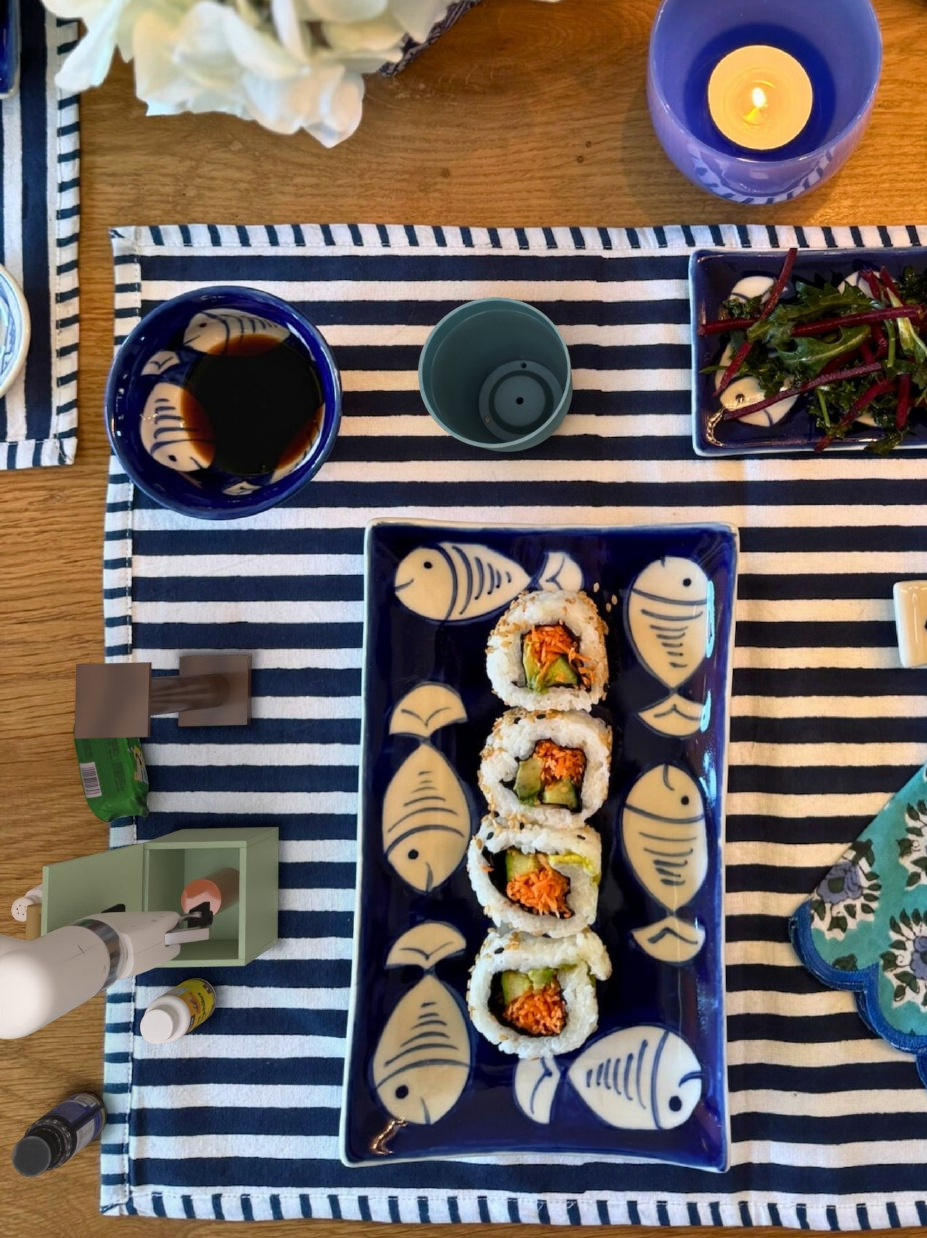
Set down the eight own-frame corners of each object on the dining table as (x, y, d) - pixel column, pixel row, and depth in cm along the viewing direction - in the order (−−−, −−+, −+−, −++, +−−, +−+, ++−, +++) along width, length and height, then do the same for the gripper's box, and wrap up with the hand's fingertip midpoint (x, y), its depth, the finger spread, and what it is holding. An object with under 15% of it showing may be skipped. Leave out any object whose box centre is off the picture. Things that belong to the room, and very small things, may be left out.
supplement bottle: (217, 1022, 138) (178, 1052, 128) (174, 1021, 138) (131, 1051, 128) (219, 976, 139) (180, 1003, 128) (176, 975, 139) (134, 1002, 129)
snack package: (109, 826, 141) (86, 833, 135) (84, 708, 142) (60, 711, 137) (163, 812, 141) (142, 818, 136) (137, 694, 142) (116, 696, 137)
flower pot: (430, 439, 144) (393, 413, 127) (484, 316, 146) (454, 274, 129) (555, 490, 143) (534, 470, 127) (608, 366, 145) (594, 330, 128)
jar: (206, 907, 139) (180, 921, 132) (207, 867, 139) (180, 879, 132) (245, 906, 139) (221, 920, 132) (246, 866, 139) (221, 878, 132)
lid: (48, 866, 117) (11, 864, 119) (44, 1006, 116) (7, 1003, 117) (143, 843, 130) (108, 842, 132) (140, 969, 129) (105, 966, 130)
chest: (278, 826, 140) (246, 840, 130) (277, 943, 139) (244, 965, 129) (182, 829, 140) (142, 842, 131) (180, 945, 139) (139, 968, 129)
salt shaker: (101, 872, 140) (49, 892, 129) (90, 914, 140) (37, 937, 129) (60, 863, 140) (5, 882, 129) (50, 905, 140) (-7, 928, 129)
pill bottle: (52, 1108, 138) (-5, 1149, 127) (92, 1080, 138) (38, 1118, 127) (78, 1150, 137) (22, 1194, 126) (118, 1121, 137) (66, 1163, 126)
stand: (182, 725, 142) (69, 743, 117) (183, 656, 142) (71, 659, 118) (251, 724, 141) (152, 741, 117) (251, 654, 142) (153, 657, 117)
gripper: (-8, 1001, 107) (88, 952, 124) (168, 996, 107) (240, 948, 124) (-6, 923, 107) (89, 884, 124) (170, 918, 107) (241, 880, 125)
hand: (164, 916), depth 124 cm, fingers open, 9 cm apart
